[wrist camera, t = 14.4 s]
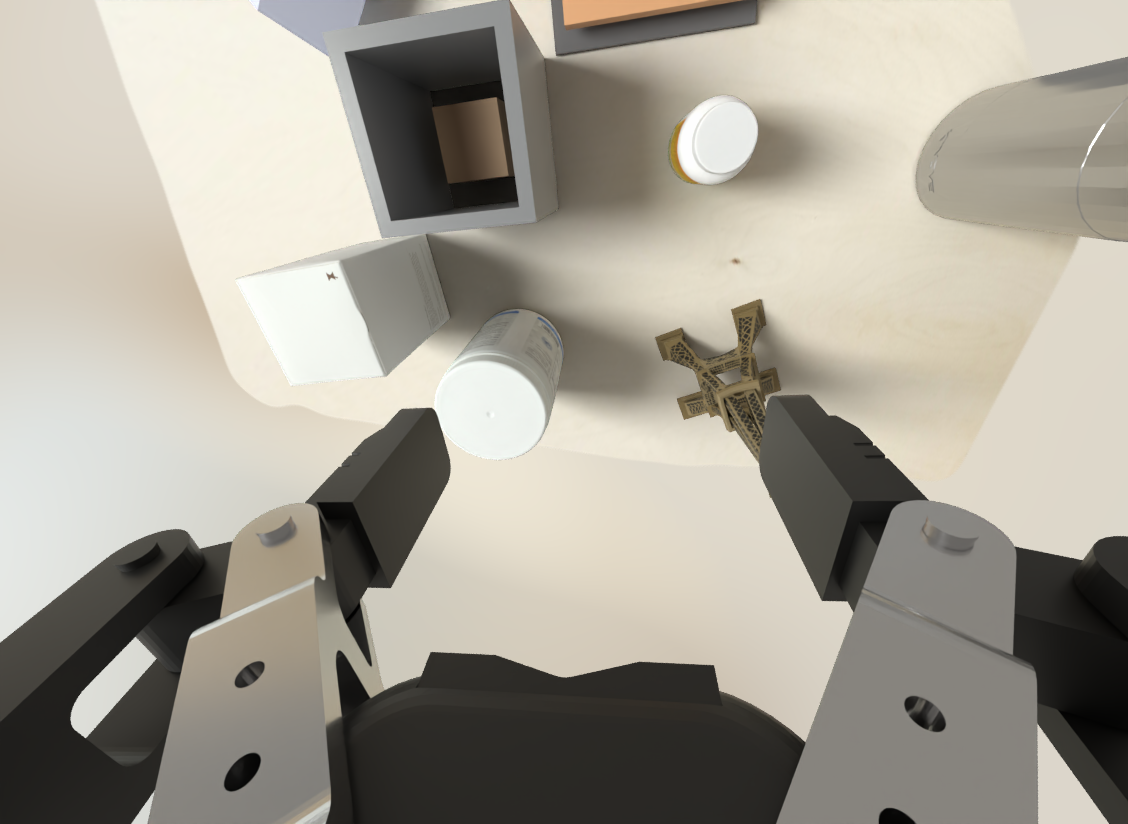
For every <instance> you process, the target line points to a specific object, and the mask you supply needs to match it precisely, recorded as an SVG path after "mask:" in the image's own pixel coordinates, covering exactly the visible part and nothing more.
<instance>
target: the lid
mask: <svg viewBox="0 0 1128 824" xmlns="http://www.w3.org/2000/svg"><path fill="white" fill-rule="evenodd" d="M562 1H563V14H564V26H565V29H566V30H572V29H578V28H583V27H589V26H595V25H601V24H607V23H613V22H619V21H624V20H630V19H636V18H642V17H648V16H654V15H659V14H665V13H671V12H677V11H683V10H689V9H695V8H700V7H706V6H712V5H718V4H724V3H730V2H736V1H741V0H562Z"/></svg>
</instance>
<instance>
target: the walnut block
mask: <svg viewBox="0 0 1128 824" xmlns="http://www.w3.org/2000/svg"><path fill="white" fill-rule="evenodd" d="M432 111H433V116H434V121H435V125H436V130H437V135H438V139H439V144H440V149H441V153H442V158H443V163H444V167H445V172H446V176H447V181H448V184H450V183H467V182H476V181H484V180H492V179H499V178H507V177H515V173H514V166H513V159H512V151H511V144H510V137H509V130H508V122H507V115H506V108H505V102H503V101H502V100H500V99H499V98H497V97H494V98H488V99H482V100H475V101H469V102H463V103H457V104H450V105H444V106H438V107H432Z"/></svg>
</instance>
